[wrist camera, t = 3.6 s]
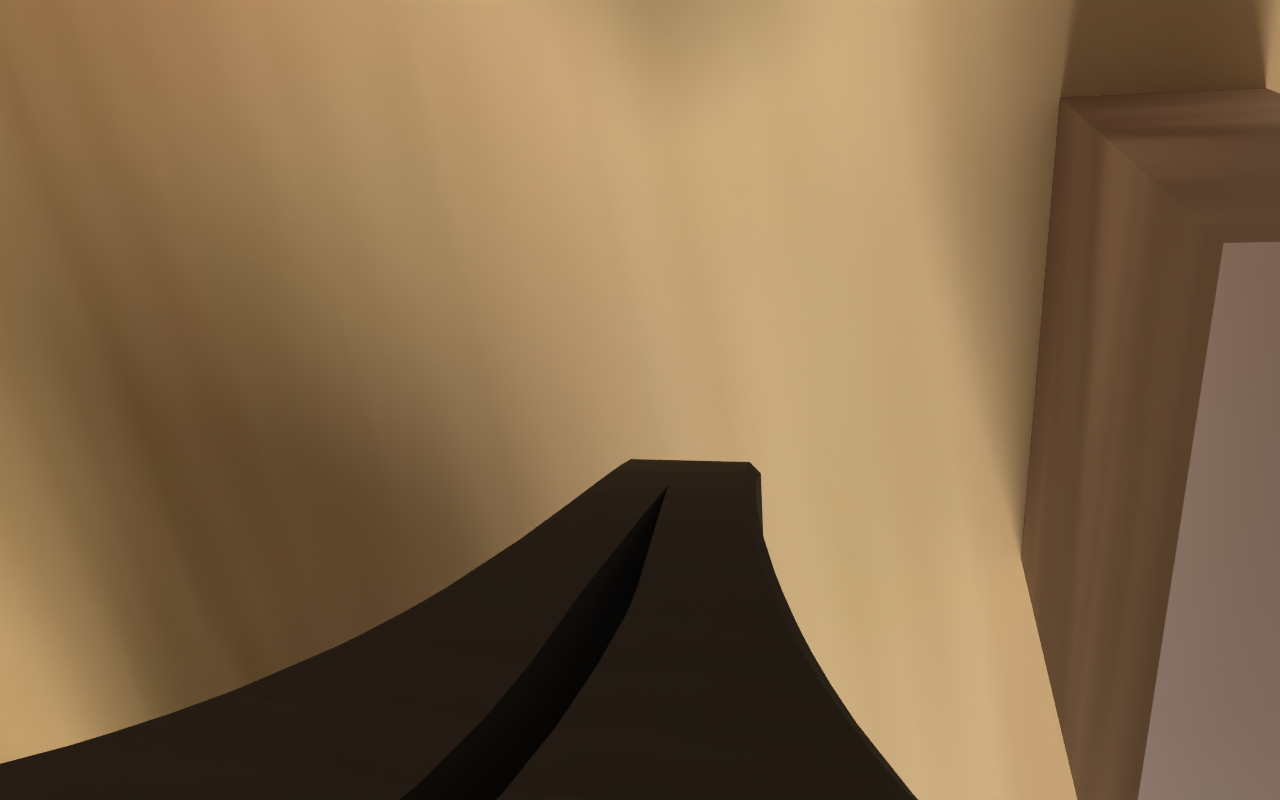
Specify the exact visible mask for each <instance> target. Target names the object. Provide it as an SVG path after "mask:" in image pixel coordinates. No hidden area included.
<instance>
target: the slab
mask: <svg viewBox="0 0 1280 800" xmlns="http://www.w3.org/2000/svg"><path fill="white" fill-rule="evenodd" d="M1021 561H1022V565H1023V569H1024V573H1025V578H1026V582H1027V586H1028V590H1029V595H1030V599H1031V603H1032V607H1033V612H1034V616H1035V620H1036V625H1037V629H1038V633H1039V637H1040V642H1041V646H1042V650H1043V654H1044V659H1045V663H1046V667H1047V671H1048V676H1049V680H1050V684H1051V688H1052V693H1053V697H1054V701H1055V706H1056V710H1057V714H1058V718H1059V723H1060V727H1061V731H1062V735H1063V740H1064V744H1065V748H1066V752H1067V757H1068V761H1069V765H1070V770H1071V774H1072V778H1073V782H1074V787H1075V791H1076V795H1077V799H1078V800H1280V94H1279V93H1277V92H1274V91H1272V90H1269V89H1267V88H1258V89H1237V90H1216V91H1195V92H1174V93H1153V94H1132V95H1111V96H1090V97H1068V98H1060V103H1059V115H1058V126H1057V138H1056V150H1055V162H1054V174H1053V186H1052V198H1051V210H1050V222H1049V234H1048V246H1047V258H1046V270H1045V281H1044V293H1043V305H1042V317H1041V329H1040V341H1039V353H1038V365H1037V377H1036V389H1035V401H1034V413H1033V425H1032V436H1031V448H1030V460H1029V472H1028V484H1027V496H1026V508H1025V520H1024V532H1023V544H1022V556H1021Z"/></svg>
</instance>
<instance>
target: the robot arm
mask: <svg viewBox="0 0 1280 800" xmlns="http://www.w3.org/2000/svg"><path fill="white" fill-rule="evenodd" d="M0 800H918V799H917V798H916V797H915V796H914V795H913V794H912V792H911V791H910V790H909V789H908V787H907V786H906V785H905V784H904V782H903V781H902V780H901V779H900V777H899V776H898V775H897V773H896V772H895V771H894V770H893V768H892V767H891V766H890V765H889V763H888V762H887V761H886V760H885V758H884V757H883V756H882V755H881V753H880V752H879V751H878V750H877V748H876V747H875V746H874V745H873V743H872V742H871V741H870V740H869V738H868V737H867V736H866V735H865V733H864V732H863V731H862V729H861V728H860V727H859V726H858V724H857V723H856V722H855V720H854V719H853V717H852V716H851V714H850V713H849V711H848V710H847V708H846V707H845V705H844V704H843V702H842V701H841V699H840V698H839V696H838V695H837V693H836V692H835V690H834V689H833V687H832V686H831V684H830V682H829V681H828V679H827V677H826V676H825V674H824V672H823V671H822V669H821V667H820V666H819V664H818V662H817V661H816V659H815V657H814V655H813V654H812V652H811V650H810V648H809V646H808V644H807V643H806V641H805V639H804V637H803V635H802V633H801V631H800V629H799V627H798V625H797V623H796V621H795V619H794V616H793V614H792V612H791V610H790V608H789V605H788V603H787V601H786V599H785V596H784V594H783V592H782V589H781V587H780V584H779V582H778V579H777V577H776V574H775V571H774V568H773V565H772V562H771V559H770V556H769V553H768V550H767V547H766V544H765V541H764V537H763V522H762V495H761V473H760V472H759V471H758V470H757V469H756V468H755V467H754V466H753V465H752V464H751V463H750V462H721V461H680V460H640V459H630V460H629V461H627V462H625V463H624V464H622V465H621V466H619V467H618V468H616V469H615V470H613V471H612V472H610V473H609V474H608V475H606V476H605V477H604V478H602V479H601V480H600V481H598V482H597V483H596V484H594V485H593V486H592V487H590V488H589V489H588V490H586V491H585V492H584V493H582V494H581V495H580V496H578V497H577V498H576V499H574V500H573V501H572V502H570V503H569V504H568V505H566V506H565V507H564V508H562V509H561V510H559V511H558V512H557V513H555V514H554V515H553V516H551V517H550V518H549V519H547V520H546V521H544V522H543V523H542V524H540V525H539V526H538V527H536V528H535V529H534V530H532V531H531V532H529V533H528V534H527V535H525V536H524V537H523V538H521V539H520V540H518V541H517V542H515V543H514V544H512V545H511V546H509V547H508V548H506V549H505V550H503V551H502V552H500V553H499V554H497V555H496V556H494V557H493V558H491V559H490V560H488V561H486V562H485V563H483V564H482V565H480V566H479V567H477V568H476V569H474V570H473V571H471V572H470V573H468V574H467V575H465V576H464V577H462V578H460V579H459V580H457V581H456V582H454V583H453V584H451V585H450V586H448V587H447V588H445V589H443V590H442V591H440V592H438V593H437V594H435V595H433V596H432V597H430V598H428V599H427V600H425V601H423V602H421V603H419V604H418V605H416V606H414V607H412V608H411V609H409V610H407V611H405V612H403V613H402V614H400V615H398V616H396V617H394V618H392V619H390V620H388V621H386V622H384V623H382V624H380V625H379V626H377V627H375V628H373V629H371V630H369V631H367V632H365V633H363V634H361V635H359V636H357V637H355V638H353V639H351V640H349V641H347V642H345V643H343V644H341V645H339V646H337V647H335V648H332V649H330V650H328V651H325V652H323V653H321V654H318V655H316V656H314V657H311V658H309V659H307V660H304V661H302V662H300V663H297V664H295V665H293V666H290V667H288V668H286V669H283V670H281V671H279V672H276V673H274V674H272V675H269V676H267V677H265V678H262V679H260V680H258V681H255V682H253V683H251V684H248V685H246V686H244V687H241V688H239V689H236V690H234V691H231V692H229V693H226V694H223V695H221V696H218V697H215V698H212V699H210V700H207V701H204V702H201V703H199V704H196V705H193V706H190V707H187V708H185V709H182V710H179V711H176V712H174V713H171V714H168V715H165V716H162V717H159V718H156V719H153V720H149V721H146V722H143V723H140V724H137V725H134V726H131V727H128V728H125V729H122V730H119V731H116V732H113V733H110V734H106V735H103V736H100V737H96V738H93V739H90V740H86V741H83V742H80V743H76V744H73V745H70V746H66V747H63V748H59V749H55V750H51V751H47V752H44V753H40V754H36V755H32V756H28V757H25V758H21V759H17V760H13V761H9V762H6V763H2V764H0Z"/></svg>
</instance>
